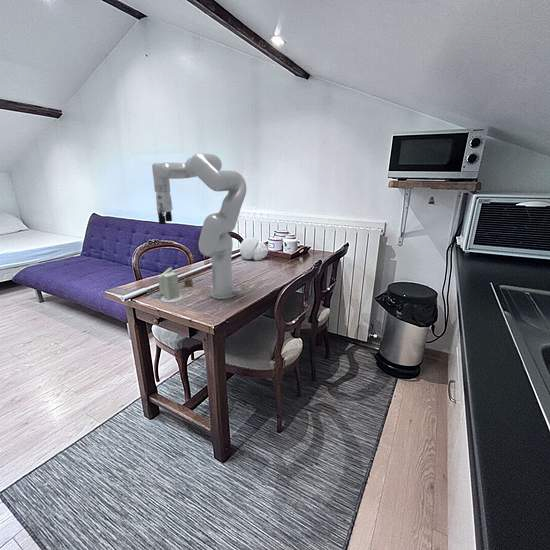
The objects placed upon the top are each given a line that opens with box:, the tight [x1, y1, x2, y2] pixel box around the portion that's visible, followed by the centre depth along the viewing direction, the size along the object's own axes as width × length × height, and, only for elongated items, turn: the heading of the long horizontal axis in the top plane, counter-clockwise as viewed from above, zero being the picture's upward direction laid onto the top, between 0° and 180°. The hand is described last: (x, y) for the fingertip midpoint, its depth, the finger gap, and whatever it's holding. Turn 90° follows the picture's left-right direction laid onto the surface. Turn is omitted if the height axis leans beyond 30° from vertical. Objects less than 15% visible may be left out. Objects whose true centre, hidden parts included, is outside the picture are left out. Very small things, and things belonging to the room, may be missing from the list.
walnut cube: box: [183, 277, 193, 288], centre depth 164 cm, size 4×4×4 cm
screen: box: [156, 267, 174, 297], centre depth 156 cm, size 5×16×10 cm, turn 179°
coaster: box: [160, 293, 184, 304], centre depth 147 cm, size 10×10×1 cm
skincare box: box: [160, 271, 181, 300], centre depth 145 cm, size 6×4×12 cm
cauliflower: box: [239, 236, 269, 261], centre depth 216 cm, size 20×18×16 cm
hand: (165, 222), depth 159 cm, fingers open, 9 cm apart
